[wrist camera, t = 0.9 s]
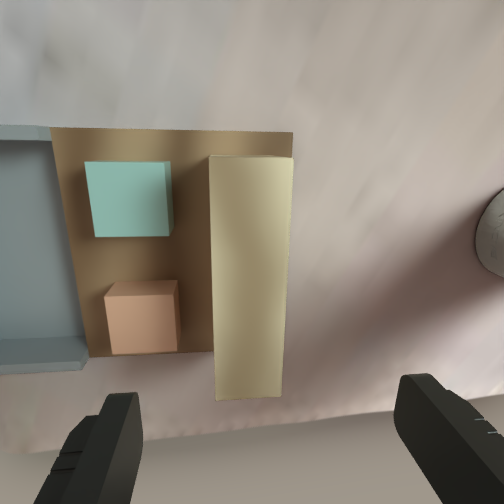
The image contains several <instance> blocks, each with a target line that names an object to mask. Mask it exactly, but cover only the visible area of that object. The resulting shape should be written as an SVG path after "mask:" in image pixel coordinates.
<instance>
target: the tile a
mask: <svg viewBox="0 0 504 504" xmlns="http://www.w3.org/2000/svg"><path fill="white" fill-rule="evenodd" d="M84 163H85V170H86V177H87V184H88V190H89V197H90V204H91V211H92V218H93V225H94V232H95V237H136V236H170V234H171V232H172V230H173V228H174V213H173V198H172V182H171V166H170V161H116V160H98V161H87V162H84Z"/></svg>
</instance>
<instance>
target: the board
mask: <svg viewBox="0 0 504 504" xmlns="http://www.w3.org/2000/svg"><path fill="white" fill-rule="evenodd" d="M49 128H50V133H51V139H52V145H53V151H54V156H55V162H56V168H57V174H58V179H59V185H60V191H61V197H62V202H63V208H64V214H65V220H66V225H67V231H68V237H69V243H70V248H71V254H72V260H73V266H74V271H75V277H76V283H77V289H78V295H79V300H80V306H81V312H82V318H83V323H84V329H85V335H86V341H87V346H88V352H89V358H90V357H110V356H129V355H149V354H169V353H188V352H208V351H214V333H213V297H212V260H211V223H210V186H209V156H210V155H271V156H280V157H288V158H292V142H293V132H248V131H201V130H154V129H107V128H60V127H49ZM98 160H116V161H170V166H171V182H172V198H173V213H174V228H173V230H172V232H171V234H170V236H136V237H95V232H94V225H93V218H92V211H91V204H90V197H89V190H88V184H87V177H86V170H85V163H84V162H87V161H98ZM158 280H178V291H179V307H180V322H181V335H180V340H179V345H178V350H177V351H170V352H150V353H130V354H112V348H111V341H110V334H109V327H108V320H107V314H106V307H105V300H104V296H105V295H106V294H107V292H108V291H109V290H110V288H111V287H112V286H113V284H114V283H115V282H122V281H158Z"/></svg>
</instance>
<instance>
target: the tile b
mask: <svg viewBox="0 0 504 504" xmlns="http://www.w3.org/2000/svg"><path fill="white" fill-rule="evenodd" d="M104 300H105V307H106V314H107V320H108V327H109V334H110V341H111V348H112V354H130V353H150V352H170V351H177V350H178V345H179V340H180V335H181V322H180V307H179V291H178V280H158V281H122V282H115V283H114V284H113V286H112V287H111V288H110V290H109V291H108V292H107V294H106V295H105V296H104Z"/></svg>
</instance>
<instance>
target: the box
mask: <svg viewBox="0 0 504 504" xmlns="http://www.w3.org/2000/svg"><path fill="white" fill-rule="evenodd" d="M88 359H89V352H88V346H87V341H86V335H85V329H84V323H83V318H82V312H81V306H80V300H79V295H78V289H77V283H76V277H75V271H74V266H73V260H72V254H71V248H70V243H69V237H68V231H67V225H66V220H65V214H64V208H63V202H62V197H61V191H60V185H59V179H58V174H57V168H56V162H55V156H54V151H53V145H52V139H51V133H50V128H49V127H44V126H34V125H0V375H2V374H21V373H39V372H57V371H75V370H82V369H83V367H84V366H85V364H86V362H87V361H88Z"/></svg>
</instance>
